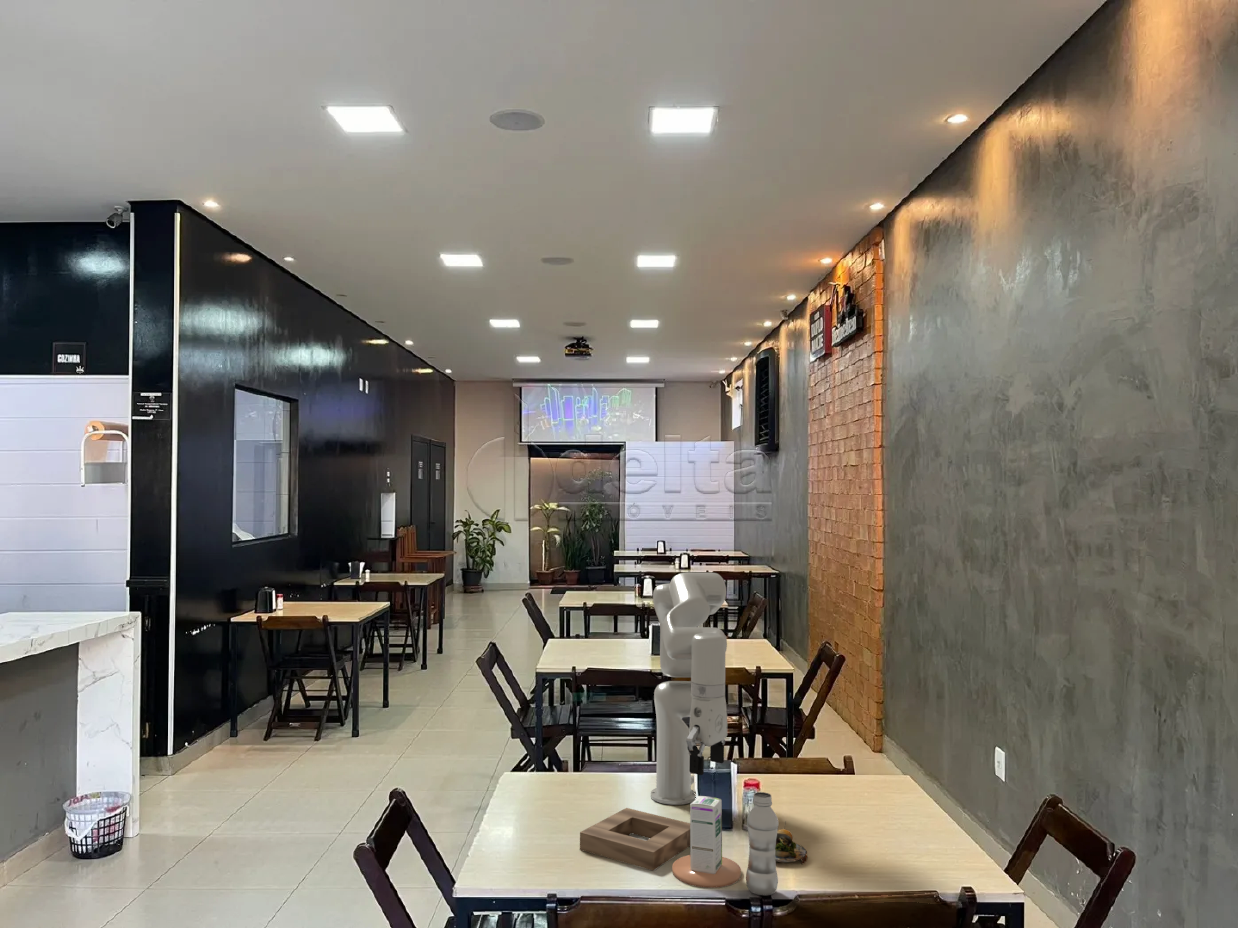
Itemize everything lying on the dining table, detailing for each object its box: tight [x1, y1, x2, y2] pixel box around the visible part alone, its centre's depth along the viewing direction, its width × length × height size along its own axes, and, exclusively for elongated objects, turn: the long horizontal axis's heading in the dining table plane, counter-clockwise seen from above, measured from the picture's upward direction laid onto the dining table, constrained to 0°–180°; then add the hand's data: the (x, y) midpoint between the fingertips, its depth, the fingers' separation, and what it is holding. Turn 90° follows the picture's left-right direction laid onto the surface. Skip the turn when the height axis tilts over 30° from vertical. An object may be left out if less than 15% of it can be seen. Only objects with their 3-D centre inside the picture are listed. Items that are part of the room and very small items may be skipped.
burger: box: [775, 821, 808, 865], centre depth 197 cm, size 12×12×8 cm
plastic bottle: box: [745, 791, 780, 896], centre depth 178 cm, size 6×7×20 cm
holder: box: [579, 807, 690, 872], centre depth 202 cm, size 20×20×4 cm
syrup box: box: [689, 795, 723, 874], centre depth 188 cm, size 6×6×14 cm
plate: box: [671, 854, 742, 889], centre depth 187 cm, size 15×15×1 cm
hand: (706, 767), depth 189 cm, fingers open, 9 cm apart
